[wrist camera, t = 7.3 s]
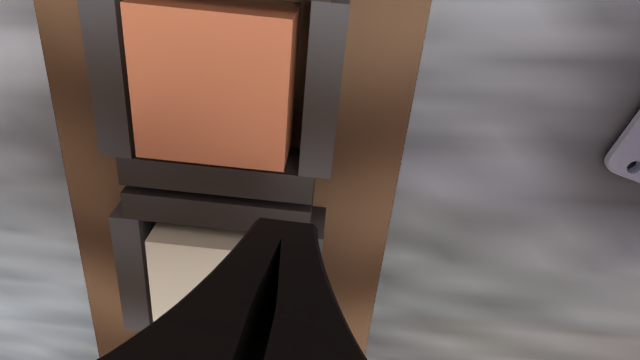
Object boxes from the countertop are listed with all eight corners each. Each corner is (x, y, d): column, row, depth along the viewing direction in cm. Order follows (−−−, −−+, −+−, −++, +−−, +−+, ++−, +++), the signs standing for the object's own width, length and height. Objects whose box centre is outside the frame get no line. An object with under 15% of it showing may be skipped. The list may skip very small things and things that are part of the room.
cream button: (168, 202, 18) (144, 241, 16) (287, 215, 18) (278, 255, 16) (174, 293, 20) (154, 337, 18) (281, 304, 20) (273, 350, 18)
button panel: (50, -114, 15) (-38, -119, 12) (434, -75, 15) (458, -68, 12) (127, 394, 27) (94, 466, 24) (346, 417, 27) (345, 493, 24)
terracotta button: (152, -13, 15) (119, 2, 13) (301, 3, 15) (293, 19, 13) (162, 125, 17) (135, 157, 15) (292, 138, 17) (283, 172, 15)
